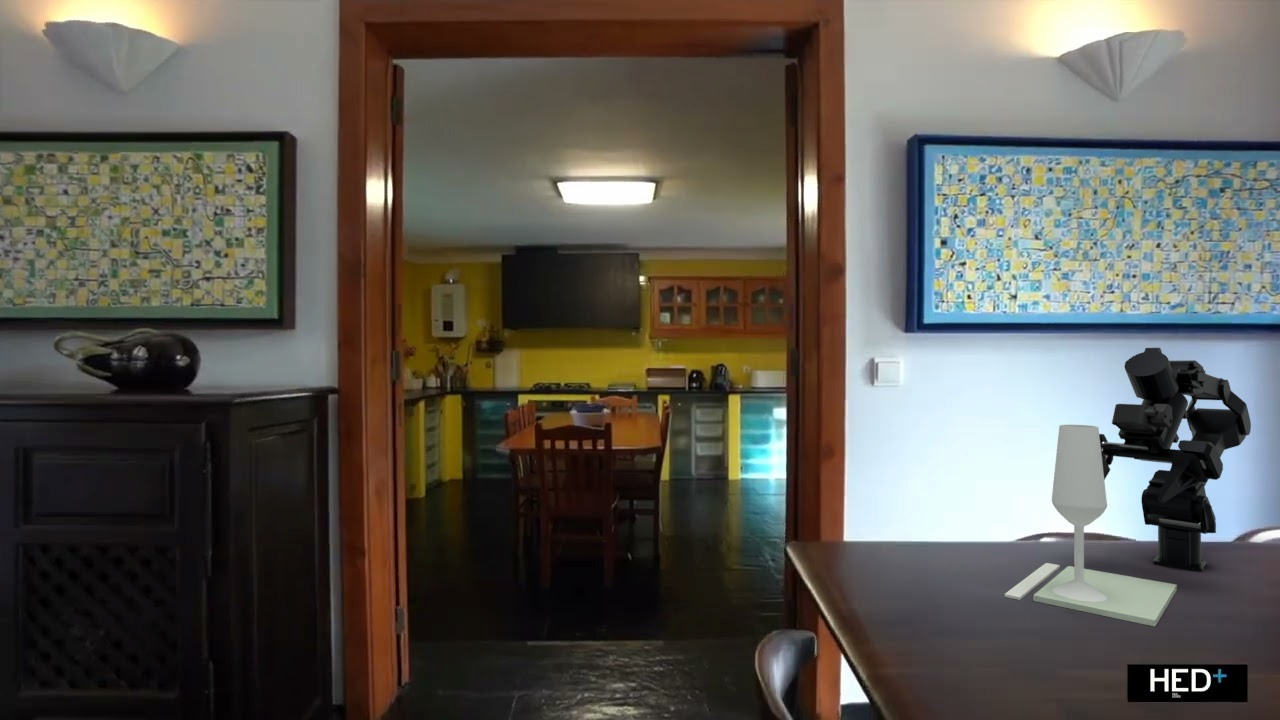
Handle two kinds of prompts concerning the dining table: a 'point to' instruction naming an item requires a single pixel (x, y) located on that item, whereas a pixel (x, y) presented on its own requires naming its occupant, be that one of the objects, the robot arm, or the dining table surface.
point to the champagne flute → (1079, 497)
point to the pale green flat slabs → (1123, 593)
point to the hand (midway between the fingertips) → (1125, 495)
